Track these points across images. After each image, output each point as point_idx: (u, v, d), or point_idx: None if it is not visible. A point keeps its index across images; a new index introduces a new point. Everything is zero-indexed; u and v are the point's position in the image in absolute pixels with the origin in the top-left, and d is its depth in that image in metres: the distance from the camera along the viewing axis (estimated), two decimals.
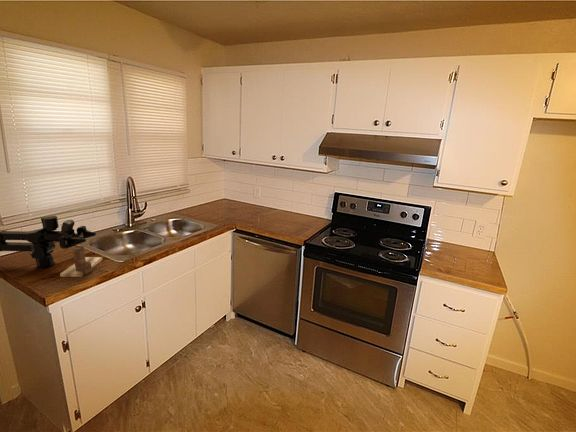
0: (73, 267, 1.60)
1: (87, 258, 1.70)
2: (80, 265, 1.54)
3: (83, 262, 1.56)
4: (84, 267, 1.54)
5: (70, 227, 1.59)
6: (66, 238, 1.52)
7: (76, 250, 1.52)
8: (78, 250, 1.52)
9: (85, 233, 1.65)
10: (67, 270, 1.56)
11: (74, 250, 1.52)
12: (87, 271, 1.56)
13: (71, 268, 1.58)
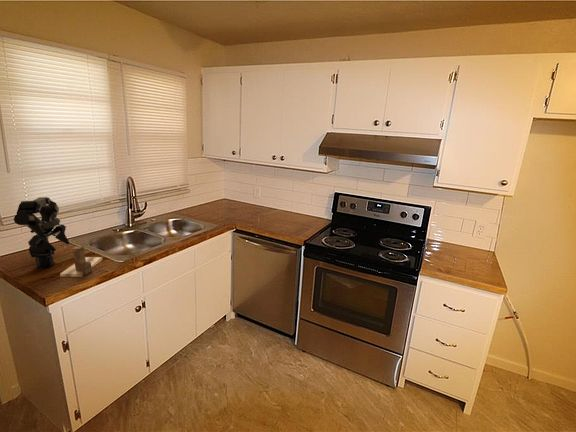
0: (73, 267, 1.60)
1: (87, 258, 1.70)
2: (80, 265, 1.54)
3: (83, 262, 1.56)
4: (84, 267, 1.54)
5: None
6: (40, 240, 1.45)
7: (76, 251, 1.52)
8: (78, 250, 1.52)
9: (60, 236, 1.58)
10: (67, 270, 1.56)
11: (74, 250, 1.52)
12: (87, 271, 1.56)
13: (71, 268, 1.58)
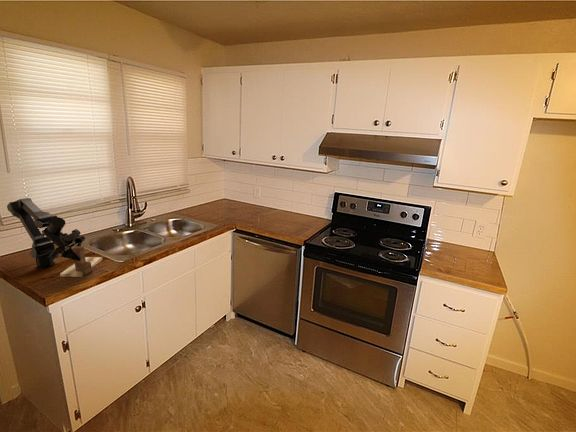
0: (73, 267, 1.60)
1: (87, 258, 1.70)
2: (80, 265, 1.54)
3: (83, 262, 1.56)
4: (84, 267, 1.54)
5: None
6: (65, 250, 1.48)
7: (76, 251, 1.52)
8: (78, 250, 1.52)
9: None
10: (67, 270, 1.56)
11: (74, 250, 1.52)
12: (87, 271, 1.56)
13: (71, 268, 1.58)
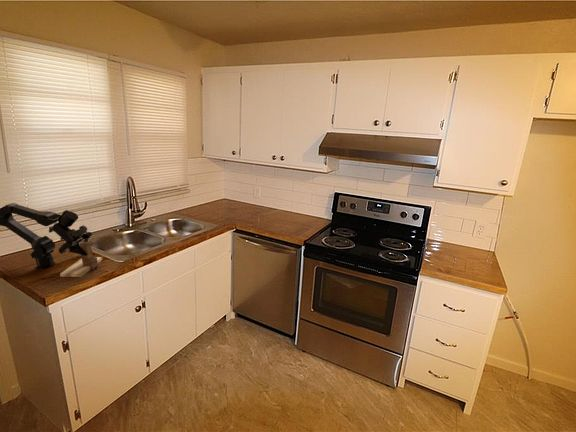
0: (73, 267, 1.60)
1: None
2: (87, 260, 1.60)
3: (90, 257, 1.61)
4: (91, 262, 1.60)
5: None
6: (73, 245, 1.54)
7: (83, 246, 1.58)
8: (85, 245, 1.58)
9: None
10: (67, 270, 1.56)
11: (81, 245, 1.58)
12: (93, 266, 1.62)
13: (71, 268, 1.58)
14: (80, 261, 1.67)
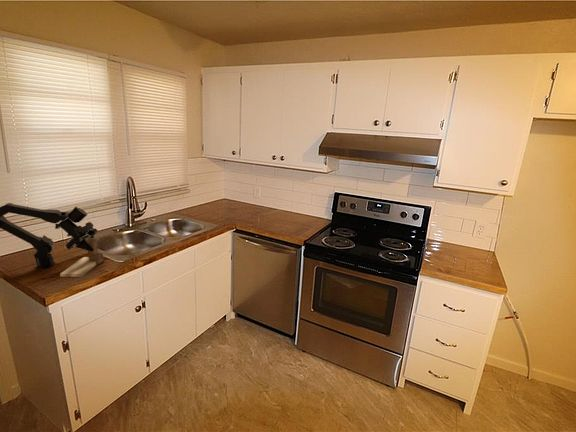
0: (73, 267, 1.60)
1: (87, 258, 1.70)
2: (93, 255, 1.66)
3: (96, 253, 1.67)
4: (97, 257, 1.66)
5: None
6: (80, 241, 1.60)
7: (89, 242, 1.64)
8: (91, 241, 1.64)
9: None
10: (67, 270, 1.56)
11: (88, 241, 1.64)
12: (99, 261, 1.67)
13: (71, 268, 1.58)
14: (80, 261, 1.67)
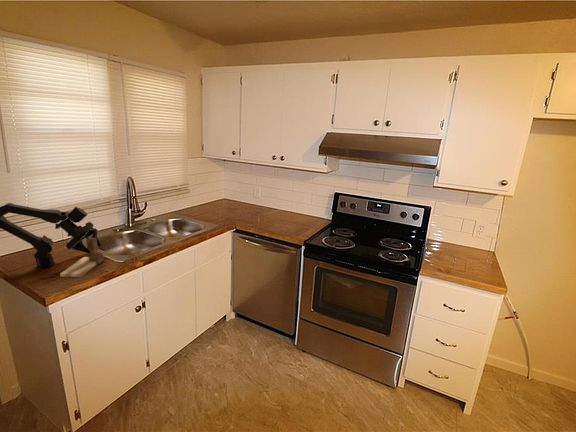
0: (73, 267, 1.60)
1: (87, 258, 1.70)
2: (93, 255, 1.66)
3: (96, 253, 1.67)
4: (97, 257, 1.66)
5: None
6: (77, 243, 1.57)
7: (89, 242, 1.64)
8: (91, 241, 1.64)
9: None
10: (67, 270, 1.56)
11: (88, 241, 1.64)
12: (99, 261, 1.68)
13: (71, 268, 1.58)
14: (80, 261, 1.67)
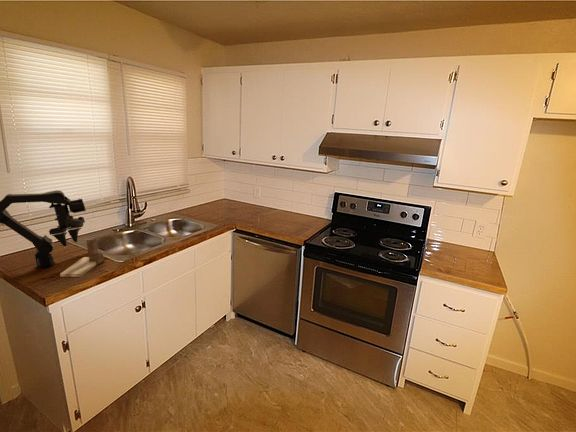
0: (73, 267, 1.60)
1: (87, 258, 1.70)
2: (93, 255, 1.66)
3: (96, 253, 1.67)
4: (97, 257, 1.66)
5: None
6: (61, 233, 1.55)
7: (89, 242, 1.64)
8: (91, 241, 1.64)
9: (73, 232, 1.68)
10: (67, 270, 1.56)
11: (88, 241, 1.64)
12: (99, 261, 1.68)
13: (71, 268, 1.58)
14: (80, 261, 1.67)
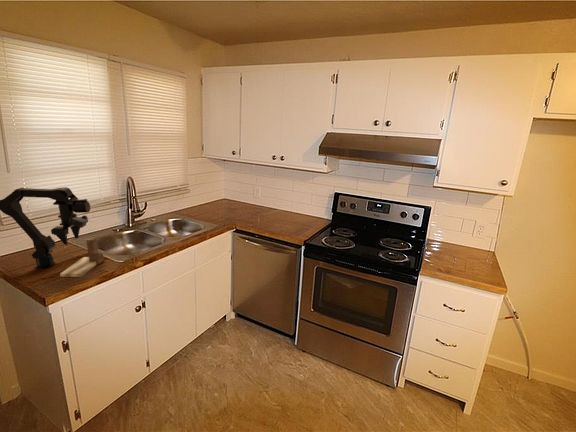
0: (73, 267, 1.60)
1: (87, 258, 1.70)
2: (93, 255, 1.66)
3: (96, 253, 1.67)
4: (97, 257, 1.66)
5: None
6: None
7: (89, 242, 1.64)
8: (91, 241, 1.64)
9: (75, 229, 1.66)
10: (67, 270, 1.56)
11: (88, 241, 1.64)
12: (99, 261, 1.68)
13: (71, 268, 1.58)
14: (80, 261, 1.67)
